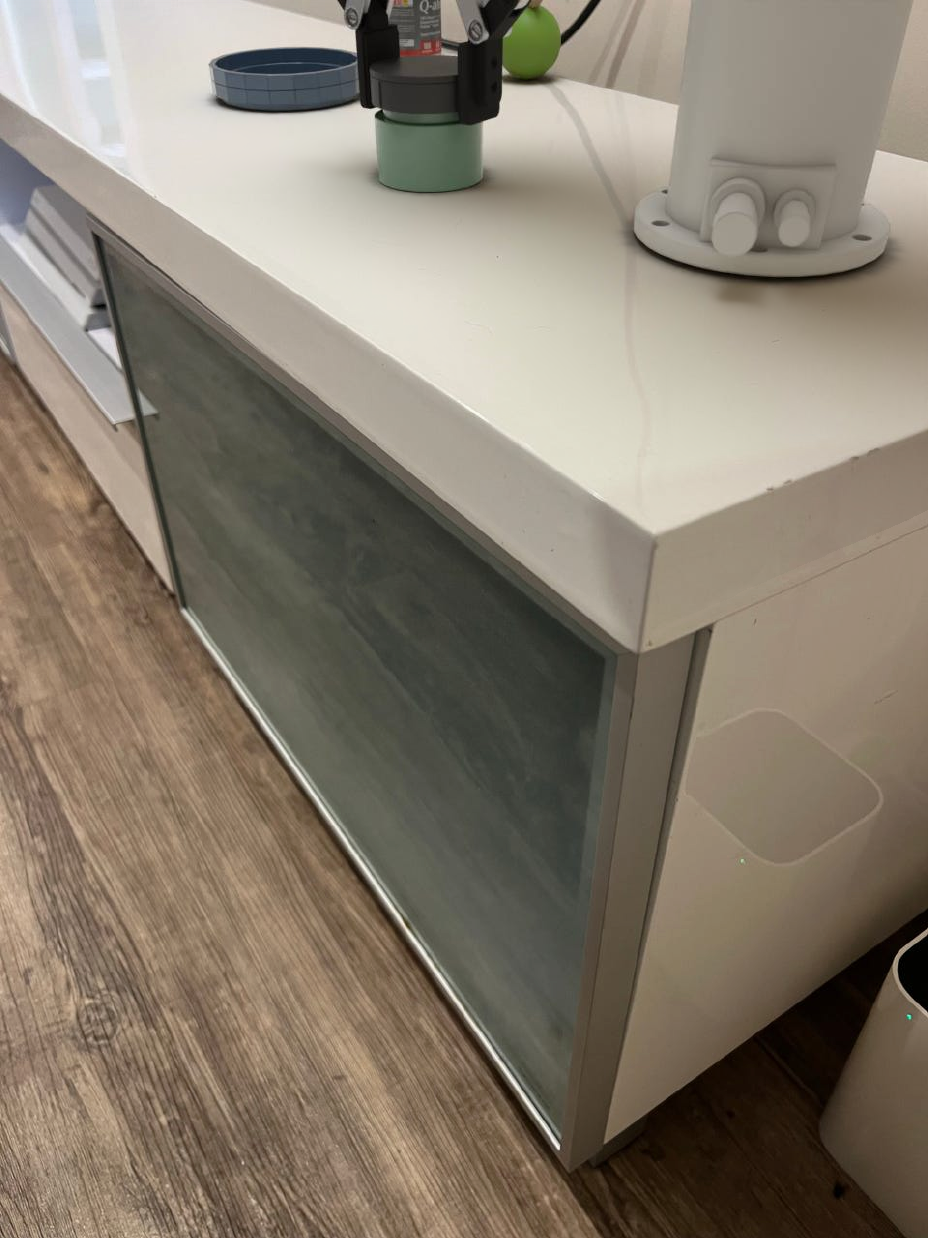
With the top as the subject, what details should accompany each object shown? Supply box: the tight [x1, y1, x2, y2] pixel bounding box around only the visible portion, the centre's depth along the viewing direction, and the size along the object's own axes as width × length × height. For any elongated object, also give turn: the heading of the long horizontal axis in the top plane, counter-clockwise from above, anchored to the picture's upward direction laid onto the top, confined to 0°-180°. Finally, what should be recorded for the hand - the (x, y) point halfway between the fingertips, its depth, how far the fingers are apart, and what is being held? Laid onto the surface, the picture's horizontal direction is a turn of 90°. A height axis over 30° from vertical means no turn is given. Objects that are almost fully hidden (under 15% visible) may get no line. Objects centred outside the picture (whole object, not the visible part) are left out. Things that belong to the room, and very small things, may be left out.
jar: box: [374, 109, 484, 193], centre depth 56 cm, size 6×6×5 cm
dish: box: [208, 46, 359, 112], centre depth 75 cm, size 12×12×2 cm
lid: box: [370, 54, 458, 114], centre depth 55 cm, size 7×7×2 cm
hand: (428, 109), depth 55 cm, fingers closed on lid, 6 cm apart
